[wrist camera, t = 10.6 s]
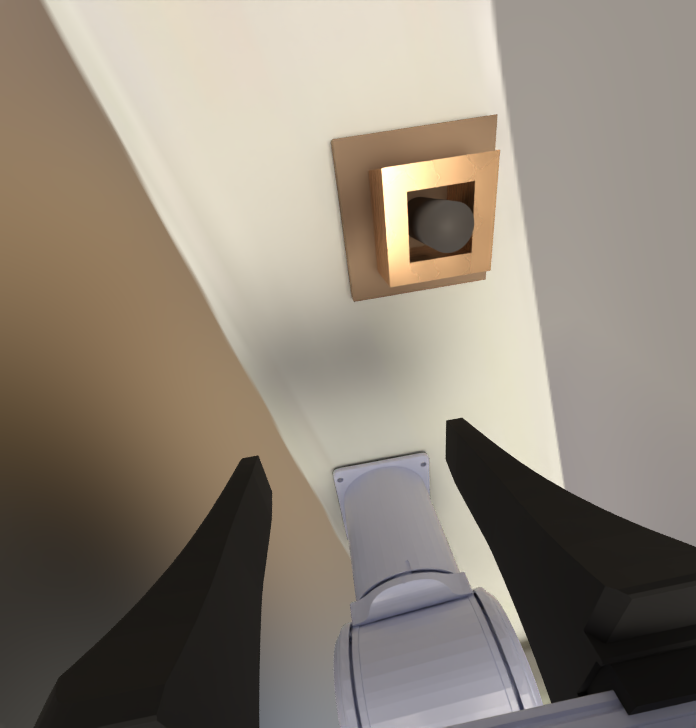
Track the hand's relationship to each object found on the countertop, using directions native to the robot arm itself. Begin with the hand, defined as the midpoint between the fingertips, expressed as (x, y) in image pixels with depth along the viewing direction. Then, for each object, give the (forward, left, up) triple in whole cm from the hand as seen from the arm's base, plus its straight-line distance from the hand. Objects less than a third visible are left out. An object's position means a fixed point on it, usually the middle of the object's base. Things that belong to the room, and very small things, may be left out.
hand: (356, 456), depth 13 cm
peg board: (+7, -6, -10) cm, 14 cm away
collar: (+7, -6, -9) cm, 13 cm away
